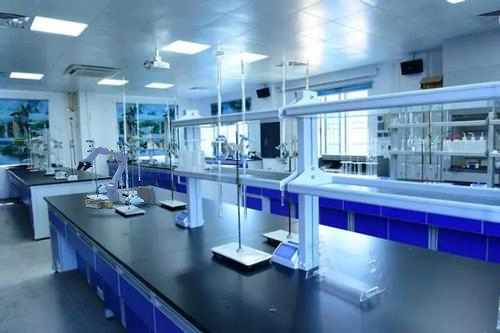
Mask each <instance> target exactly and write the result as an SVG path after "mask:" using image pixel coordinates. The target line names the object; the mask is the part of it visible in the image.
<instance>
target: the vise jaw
mask: <svg viewBox="0 0 500 333" xmlns="http://www.w3.org/2000/svg"><path fill="white" fill-rule="evenodd" d="M84 201H85V202H84V203H85V204H96V202H100V201H103V198H97V199H95V198H89V199H88V198H87V199H85V200H84Z"/></svg>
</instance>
